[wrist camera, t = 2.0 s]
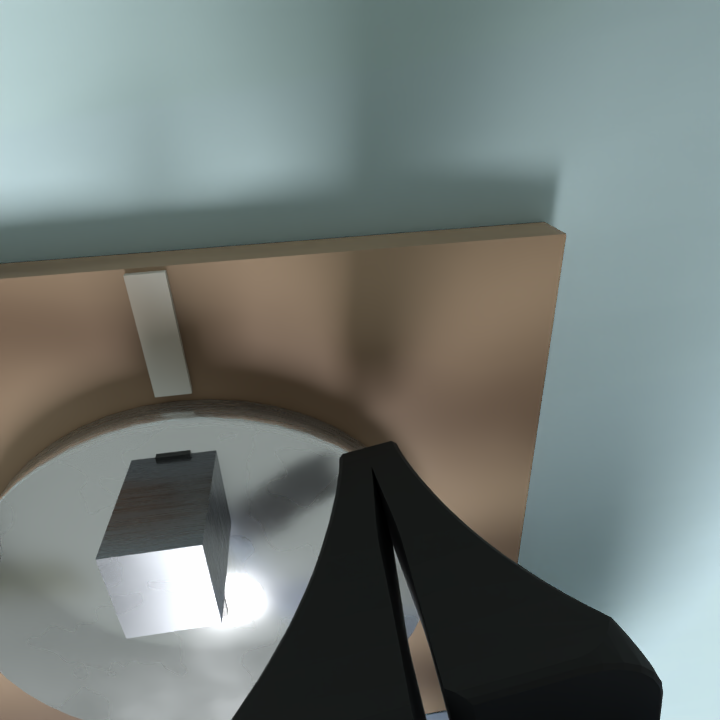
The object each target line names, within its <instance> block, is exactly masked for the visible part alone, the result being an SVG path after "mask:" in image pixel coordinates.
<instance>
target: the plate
mask: <svg viewBox="0 0 720 720" xmlns="http://www.w3.org/2000/svg"><path fill="white" fill-rule="evenodd" d="M565 240H566V233H564V232H562V231H560V230H558V229H556V228H555V227H553V226H551V225H549V224H547V223H545V222H538V223H525V224H512V225H499V226H486V227H473V228H460V229H447V230H434V231H421V232H408V233H395V234H382V235H369V236H356V237H343V238H330V239H316V240H303V241H290V242H277V243H264V244H251V245H238V246H225V247H212V248H199V249H186V250H173V251H160V252H147V253H134V254H121V255H108V256H95V257H82V258H69V259H55V260H42V261H29V262H16V263H3V264H0V496H1V494H2V493H3V491H4V490H5V488H6V487H7V485H8V484H9V482H10V481H11V480H12V479H13V478H14V477H15V476H16V474H17V473H18V472H19V471H20V470H21V469H22V468H23V467H24V466H25V465H26V464H27V463H28V462H29V461H30V460H31V459H32V458H34V457H35V456H36V455H38V454H39V453H40V452H41V451H43V450H44V449H45V448H47V447H48V446H49V445H51V444H52V443H53V442H55V441H57V440H59V439H60V438H62V437H64V436H66V435H67V434H69V433H71V432H73V431H74V430H76V429H78V428H80V427H82V426H85V425H87V424H90V423H92V422H94V421H97V420H99V419H102V418H104V417H107V416H109V415H113V414H116V413H120V412H123V411H127V410H130V409H134V408H138V407H141V406H147V405H153V404H159V403H165V402H172V401H183V400H202V399H217V400H235V401H247V402H253V403H259V404H265V405H271V406H277V407H280V408H284V409H287V410H291V411H294V412H298V413H301V414H305V415H308V416H310V417H312V418H315V419H317V420H319V421H322V422H324V423H327V424H329V425H331V426H334V427H335V428H337V429H339V430H341V431H342V432H344V433H346V434H348V435H349V436H351V437H353V438H355V439H356V440H358V441H359V442H360V443H362V444H363V445H364V446H366V447H370V446H374V445H378V444H381V443H385V442H389V441H393V442H395V443H397V445H398V447H399V449H400V451H401V452H402V454H403V455H404V457H405V458H406V460H407V461H408V463H409V464H410V465H411V467H412V468H413V469H414V470H415V472H416V473H417V474H418V475H419V477H420V478H421V479H422V480H423V481H424V482H425V484H426V485H427V486H428V487H429V488H430V489H431V490H432V491H433V492H434V494H435V495H436V496H437V497H438V498H439V499H440V500H441V501H442V502H443V503H444V504H445V505H446V506H447V507H448V508H449V509H450V510H451V511H452V512H453V513H454V514H455V515H456V516H457V517H458V518H460V519H461V520H462V521H463V522H464V523H465V524H466V525H467V526H469V527H470V528H471V529H472V530H473V531H474V532H476V533H477V534H478V535H479V536H480V537H482V538H483V539H484V540H485V541H487V542H488V543H489V544H491V545H492V546H493V547H494V548H496V549H497V550H498V551H500V552H501V553H502V554H504V555H505V556H507V557H508V558H509V559H511V560H512V561H514V562H515V563H518V556H519V549H520V543H521V536H522V529H523V522H524V516H525V509H526V502H527V495H528V489H529V482H530V475H531V469H532V462H533V455H534V448H535V442H536V435H537V428H538V421H539V415H540V408H541V401H542V395H543V388H544V381H545V374H546V368H547V361H548V354H549V347H550V341H551V334H552V327H553V321H554V314H555V307H556V300H557V294H558V287H559V280H560V273H561V267H562V260H563V253H564V247H565ZM408 643H409V648H410V653H411V657H412V662H413V666H414V670H415V674H416V678H417V682H418V686H419V690H420V694H421V699H422V703H423V707H424V711H425V714H428V713H433V712H439V711H445V710H446V707H445V703H444V699H443V696H442V692H441V688H440V685H439V681H438V677H437V674H436V670H435V666H434V663H433V659H432V655H431V651H430V648H429V645H428V642H427V639H426V635H425V632H424V629H423V627H422V624H421V621H420V620H419V622H418V624H417V626H416V628H415V630H414V632H413V633H412V634H411V636H410V637H409V639H408ZM0 720H82V719H79V718H76V717H73V716H70V715H68V714H66V713H63V712H61V711H59V710H57V709H54V708H52V707H50V706H48V705H46V704H44V703H42V702H41V701H39V700H37V699H35V698H34V697H32V696H30V695H29V694H27V693H25V692H24V691H23V690H21V689H20V688H19V687H17V686H16V685H15V684H13V683H12V682H11V681H9V680H8V679H7V678H6V677H5V676H4V675H3V674H2V673H1V672H0Z"/></svg>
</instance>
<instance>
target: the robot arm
mask: <svg viewBox="0 0 720 720" xmlns="http://www.w3.org/2000/svg"><path fill="white" fill-rule="evenodd" d="M393 547H394V548H393ZM394 550H395V552H396V555H397V558H398V561H399V563H400V566H401V569H402V572H403V574H404V577H405V580H406V583H407V585H408V588H409V591H410V594H411V596H412V599H413V602H414V605H415V607H416V610H417V613H418V616H419V618H420V621H421V624H422V627H423V629H424V632H425V635H426V639H427V642H428V645H429V648H430V651H431V655H432V659H433V663H434V666H435V670H436V674H437V677H438V681H439V685H440V688H441V692H442V696H443V699H444V703H445V707H446V711H445V712H440V713H434V714H428V715H425V711H424V707H423V703H422V699H421V694H420V690H419V686H418V682H417V678H416V674H415V670H414V666H413V662H412V657H411V653H410V648H409V643H408V638H407V632H406V626H405V619H404V613H403V606H402V600H401V593H400V587H399V580H398V574H397V567H396V561H395V554H394ZM662 697H663V689H662V682H661V680H660V679H659V677H658V676H657V674H656V672H655V670H654V668H653V667H652V665H651V664H650V662H649V661H648V660H647V658H646V657H645V656H644V655H643V653H642V652H641V651H640V650H639V648H638V647H637V646H636V645H635V643H634V642H633V641H632V640H631V639H630V637H629V636H628V635H627V634H626V633H625V632H624V631H623V630H622V628H621V627H620V626H619V625H618V624H617V623H616V622H615V621H614V620H613V619H612V618H611V617H609V616H607V615H605V614H603V613H601V612H599V611H597V610H595V609H593V608H591V607H589V606H587V605H585V604H583V603H582V602H580V601H578V600H576V599H574V598H572V597H570V596H569V595H567V594H565V593H563V592H562V591H560V590H558V589H556V588H555V587H553V586H551V585H550V584H548V583H546V582H545V581H543V580H541V579H540V578H538V577H537V576H535V575H534V574H532V573H531V572H529V571H528V570H526V569H525V568H523V567H522V566H520V565H519V564H517V563H515V562H514V561H512V560H511V559H509V558H508V557H507V556H505V555H504V554H502V553H501V552H500V551H498V550H497V549H496V548H494V547H493V546H492V545H491V544H489V543H488V542H487V541H485V540H484V539H483V538H482V537H480V536H479V535H478V534H477V533H476V532H474V531H473V530H472V529H471V528H470V527H469V526H467V525H466V524H465V523H464V522H463V521H462V520H461V519H460V518H458V517H457V516H456V515H455V514H454V513H453V512H452V511H451V510H450V509H449V508H448V507H447V506H446V505H445V504H444V503H443V502H442V501H441V500H440V499H439V498H438V497H437V496H436V495H435V494H434V492H433V491H432V490H431V489H430V488H429V487H428V486H427V485H426V484H425V482H424V481H423V480H422V479H421V478H420V477H419V475H418V474H417V473H416V472H415V470H414V469H413V468H412V467H411V465H410V464H409V463H408V461H407V460H406V458H405V457H404V455H403V454H402V452H401V451H400V449H399V447H398V445H397V443H395V442H393V441H389V442H385V443H381V444H378V445H374V446H370V447H366V448H363V449H359V450H355V451H351V452H348V453H344V454H342V455H341V457H340V458H339V474H338V481H337V488H336V493H335V499H334V503H333V507H332V512H331V516H330V520H329V524H328V528H327V531H326V534H325V537H324V541H323V544H322V547H321V551H320V554H319V557H318V559H317V562H316V565H315V568H314V570H313V573H312V576H311V578H310V580H309V583H308V585H307V588H306V590H305V593H304V595H303V597H302V599H301V601H300V603H299V606H298V608H297V610H296V612H295V614H294V616H293V618H292V620H291V622H290V624H289V626H288V628H287V630H286V632H285V634H284V636H283V637H282V639H281V641H280V643H279V644H278V646H277V648H276V650H275V652H274V653H273V655H272V657H271V659H270V660H269V662H268V664H267V666H266V667H265V669H264V671H263V672H262V674H261V676H260V677H259V679H258V680H257V682H256V683H255V685H254V686H253V688H252V689H251V691H250V692H249V694H248V695H247V697H246V698H245V700H244V701H243V703H242V704H241V706H240V707H239V709H238V710H237V712H236V713H235V715H234V716H233V718H232V719H231V720H660V714H661V706H662Z"/></svg>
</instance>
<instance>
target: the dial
mask: <svg viewBox="0 0 720 720" xmlns="http://www.w3.org/2000/svg"><path fill="white" fill-rule="evenodd" d="M363 448H366V446H364V445H363V444H362V443H360V442H359V441H358V440H356V439H355V438H353V437H351V436H349V435H348V434H346V433H344V432H342V431H341V430H339V429H337V428H335V427H334V426H331V425H329V424H327V423H324V422H322V421H319V420H317V419H315V418H312V417H310V416H308V415H305V414H301V413H298V412H294V411H291V410H287V409H284V408H280V407H277V406H271V405H265V404H259V403H253V402H247V401H235V400H217V399H202V400H183V401H172V402H165V403H159V404H153V405H147V406H141V407H138V408H134V409H130V410H127V411H123V412H120V413H116V414H113V415H109V416H107V417H104V418H102V419H99V420H97V421H94V422H92V423H90V424H87V425H85V426H82V427H80V428H78V429H76V430H74V431H73V432H71V433H69V434H67V435H66V436H64V437H62V438H60V439H59V440H57V441H55V442H53V443H52V444H51V445H49V446H48V447H47V448H45V449H44V450H43V451H41V452H40V453H39V454H38V455H36V456H35V457H34V458H32V459H31V460H30V461H29V462H28V463H27V464H26V465H25V466H24V467H23V468H22V469H21V470H20V471H19V472H18V473H17V474H16V476H15V477H14V478H13V479H12V480H11V481H10V482H9V484H8V485H7V487H6V488H5V490H4V491H3V493H2V494H1V496H0V672H1V673H2V674H3V675H4V676H5V677H6V678H7V679H8V680H9V681H11V682H12V683H13V684H15V685H16V686H17V687H19V688H20V689H21V690H23V691H24V692H25V693H27V694H29V695H30V696H32V697H34V698H35V699H37V700H39V701H41V702H42V703H44V704H46V705H48V706H50V707H52V708H54V709H57V710H59V711H61V712H63V713H66V714H68V715H70V716H73V717H76V718H79V719H82V720H231V719H232V718H233V716H234V715H235V713H236V712H237V710H238V709H239V707H240V706H241V704H242V703H243V701H244V700H245V698H246V697H247V695H248V694H249V692H250V691H251V689H252V688H253V686H254V685H255V683H256V682H257V680H258V679H259V677H260V676H261V674H262V672H263V671H264V669H265V667H266V666H267V664H268V662H269V660H270V659H271V657H272V655H273V653H274V652H275V650H276V648H277V646H278V644H279V643H280V641H281V639H282V637H283V636H284V634H285V632H286V630H287V628H288V626H289V624H290V622H291V620H292V618H293V616H294V614H295V612H296V610H297V608H298V606H299V603H300V601H301V599H302V597H303V595H304V593H305V590H306V588H307V585H308V583H309V580H310V578H311V576H312V573H313V570H314V568H315V565H316V562H317V559H318V557H319V554H320V551H321V547H322V544H323V541H324V537H325V534H326V531H327V528H328V524H329V520H330V516H331V512H332V507H333V503H334V499H335V493H336V488H337V481H338V474H339V458H340V457H341V455H342V454H344V453H348V452H351V451H355V450H359V449H363ZM393 548H394V547H393ZM394 554H395V561H396V567H397V574H398V580H399V587H400V593H401V600H402V606H403V613H404V619H405V626H406V632H407V638H408V639H409V637H410V636H411V634H412V633H413V632H414V630H415V628H416V626H417V624H418V622H419V620H420V618H419V616H418V613H417V610H416V607H415V605H414V602H413V599H412V596H411V594H410V591H409V588H408V585H407V583H406V580H405V577H404V574H403V572H402V569H401V566H400V563H399V561H398V558H397V555H396V552H395V550H394Z"/></svg>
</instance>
